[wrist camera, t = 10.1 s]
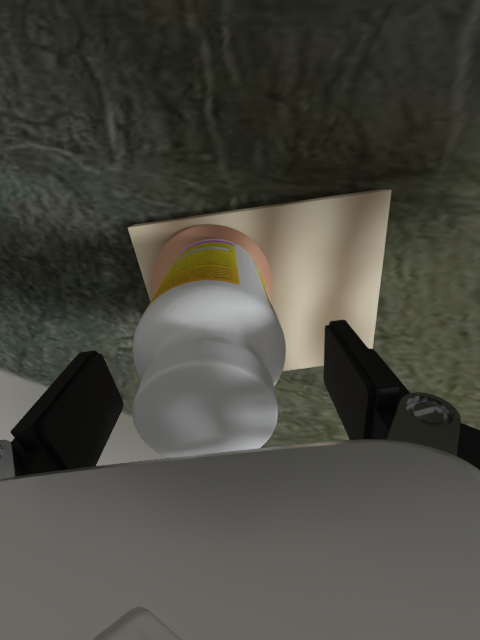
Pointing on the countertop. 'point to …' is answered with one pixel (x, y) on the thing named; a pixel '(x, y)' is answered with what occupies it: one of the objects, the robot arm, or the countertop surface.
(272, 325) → the supplement bottle
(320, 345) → the seat board
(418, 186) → the countertop surface
